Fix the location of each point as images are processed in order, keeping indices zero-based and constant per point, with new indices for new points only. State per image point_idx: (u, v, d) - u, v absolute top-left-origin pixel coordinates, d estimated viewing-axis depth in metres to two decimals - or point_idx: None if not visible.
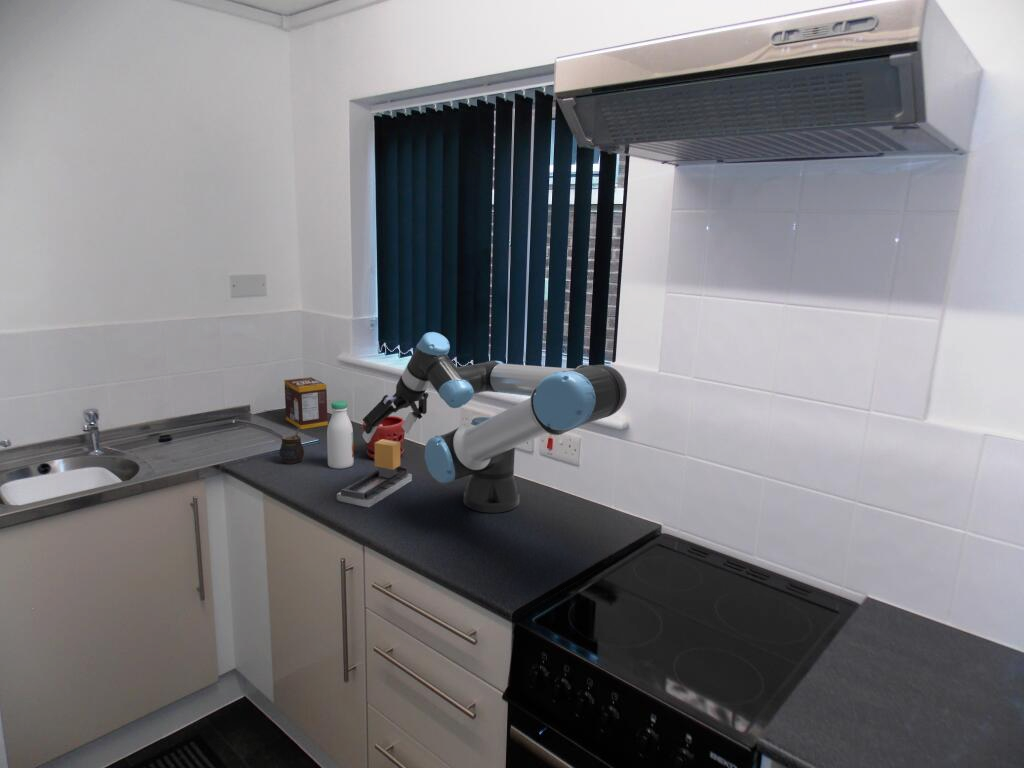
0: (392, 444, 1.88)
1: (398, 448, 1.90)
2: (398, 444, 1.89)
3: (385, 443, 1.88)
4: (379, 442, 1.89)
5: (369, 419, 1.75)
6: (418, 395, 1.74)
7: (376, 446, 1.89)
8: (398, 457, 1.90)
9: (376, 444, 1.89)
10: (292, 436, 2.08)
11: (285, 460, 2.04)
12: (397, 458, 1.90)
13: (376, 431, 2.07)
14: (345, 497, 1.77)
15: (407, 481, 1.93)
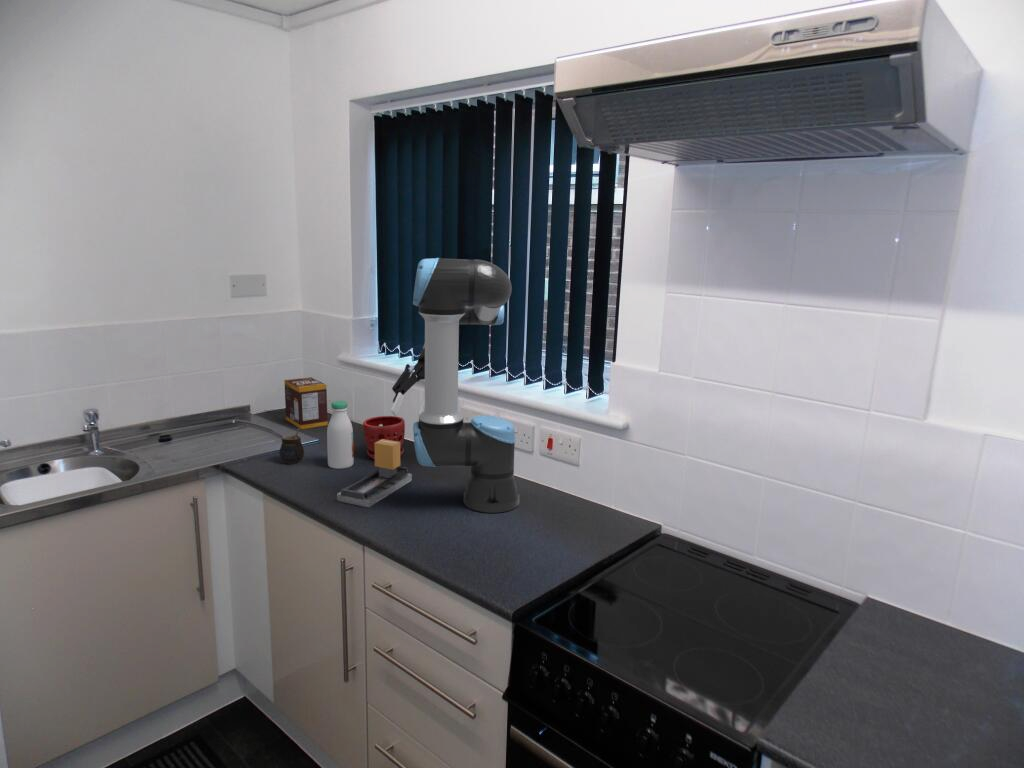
0: (392, 444, 1.88)
1: (398, 448, 1.90)
2: (398, 444, 1.89)
3: (385, 443, 1.88)
4: (379, 442, 1.89)
5: None
6: None
7: (376, 446, 1.89)
8: (398, 457, 1.90)
9: (376, 444, 1.89)
10: (292, 436, 2.08)
11: (285, 460, 2.04)
12: (397, 458, 1.90)
13: (376, 431, 2.07)
14: (345, 497, 1.77)
15: (407, 481, 1.93)
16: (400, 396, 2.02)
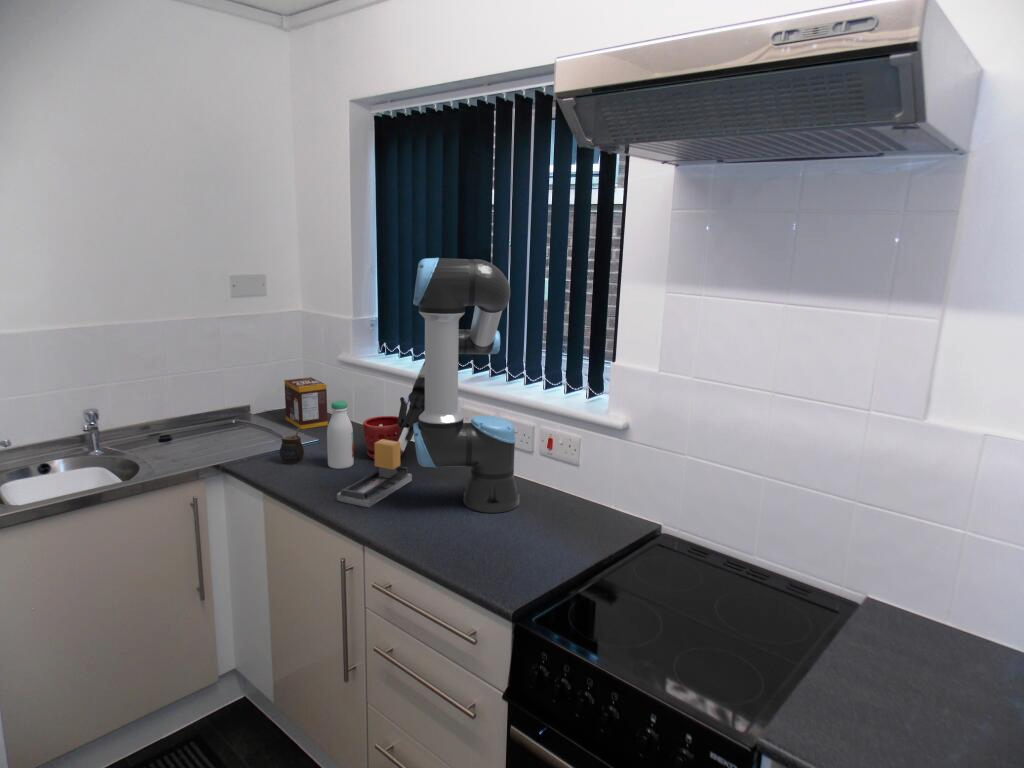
0: (392, 444, 1.88)
1: (398, 448, 1.90)
2: (398, 444, 1.89)
3: (385, 443, 1.88)
4: (379, 442, 1.89)
5: None
6: (420, 378, 2.05)
7: (376, 446, 1.89)
8: (398, 457, 1.90)
9: (376, 444, 1.89)
10: (292, 436, 2.08)
11: (285, 460, 2.04)
12: (397, 458, 1.90)
13: (376, 431, 2.07)
14: (345, 497, 1.77)
15: (407, 481, 1.93)
16: None
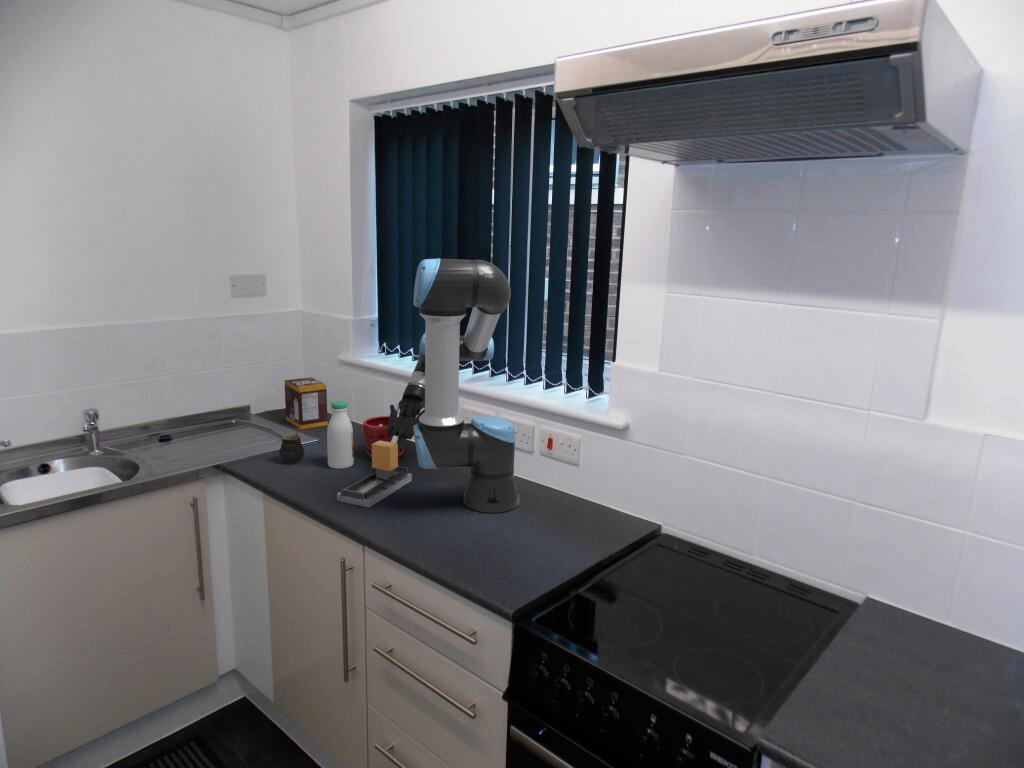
0: (389, 445, 1.87)
1: (395, 449, 1.88)
2: (395, 445, 1.88)
3: (382, 444, 1.87)
4: (376, 443, 1.88)
5: None
6: (411, 385, 2.01)
7: (373, 447, 1.87)
8: (395, 458, 1.89)
9: (373, 445, 1.87)
10: (292, 436, 2.08)
11: (285, 460, 2.04)
12: (394, 459, 1.88)
13: (376, 431, 2.07)
14: (345, 497, 1.77)
15: (407, 481, 1.93)
16: None
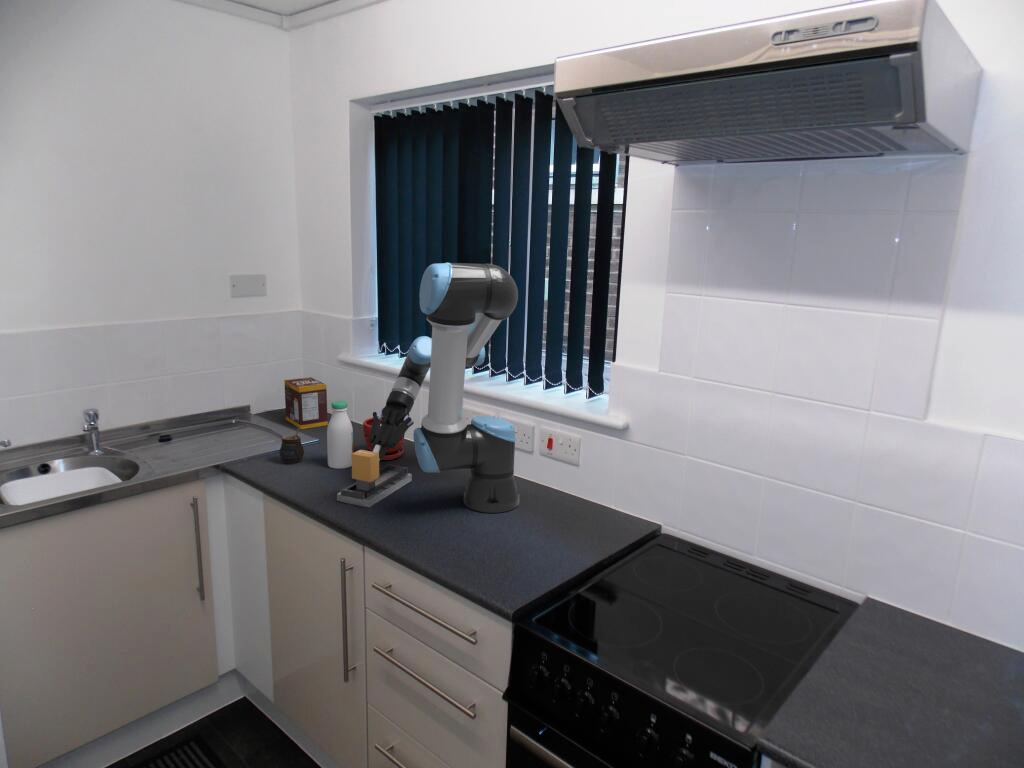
0: (370, 455, 1.78)
1: (376, 459, 1.80)
2: (376, 455, 1.80)
3: (363, 454, 1.79)
4: (356, 453, 1.79)
5: None
6: (394, 392, 1.92)
7: (353, 457, 1.79)
8: (377, 469, 1.80)
9: (353, 455, 1.79)
10: (292, 436, 2.08)
11: (285, 460, 2.04)
12: (375, 470, 1.80)
13: None
14: (345, 497, 1.77)
15: (407, 481, 1.93)
16: None
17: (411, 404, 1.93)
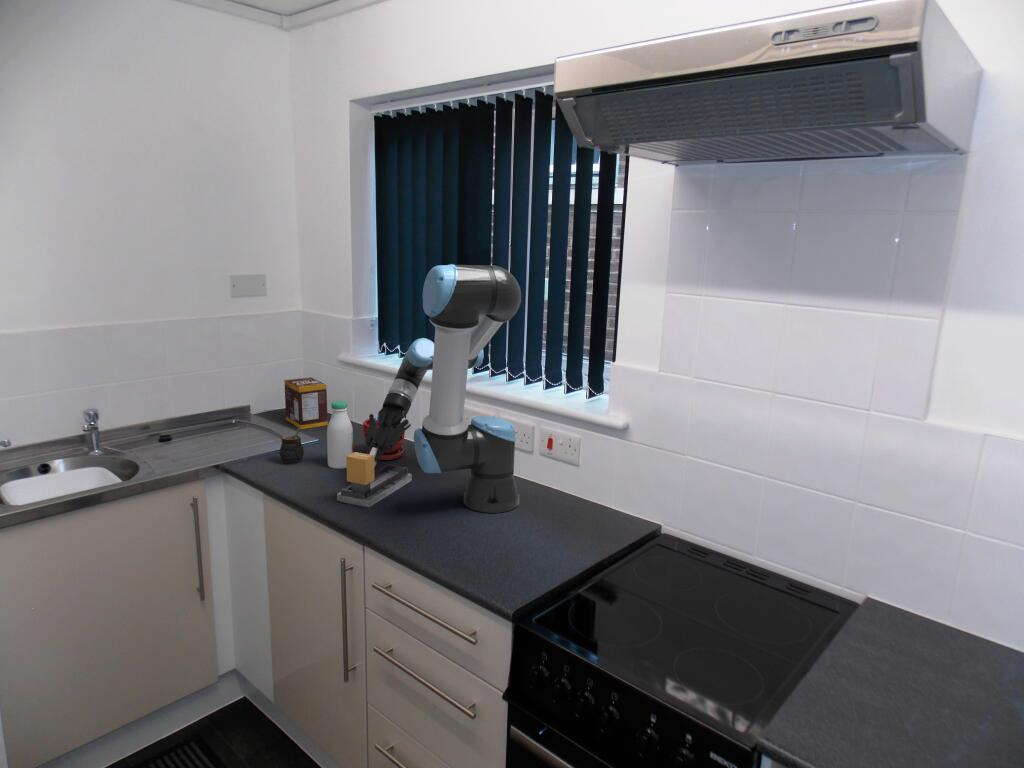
0: (365, 458, 1.76)
1: (372, 462, 1.78)
2: (372, 458, 1.77)
3: (358, 457, 1.77)
4: (351, 455, 1.77)
5: None
6: (391, 394, 1.90)
7: (348, 460, 1.77)
8: (372, 471, 1.78)
9: (348, 458, 1.77)
10: (292, 436, 2.08)
11: (285, 460, 2.04)
12: (371, 472, 1.78)
13: None
14: (345, 497, 1.77)
15: (407, 481, 1.93)
16: None
17: (408, 406, 1.91)
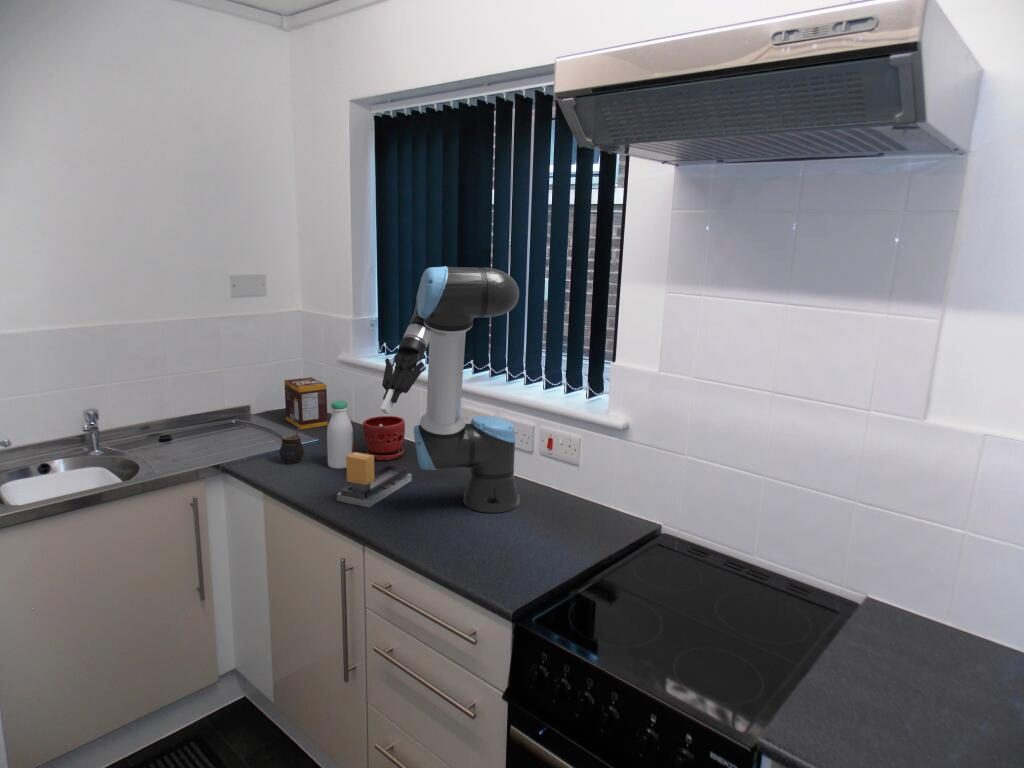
0: (365, 458, 1.76)
1: (372, 462, 1.78)
2: (372, 458, 1.77)
3: (358, 457, 1.77)
4: (351, 455, 1.77)
5: None
6: (406, 338, 1.94)
7: (348, 460, 1.77)
8: (372, 471, 1.78)
9: (348, 458, 1.77)
10: (292, 436, 2.08)
11: (285, 460, 2.04)
12: (371, 472, 1.78)
13: (376, 431, 2.07)
14: (345, 497, 1.77)
15: (407, 481, 1.93)
16: None
17: (423, 350, 1.95)
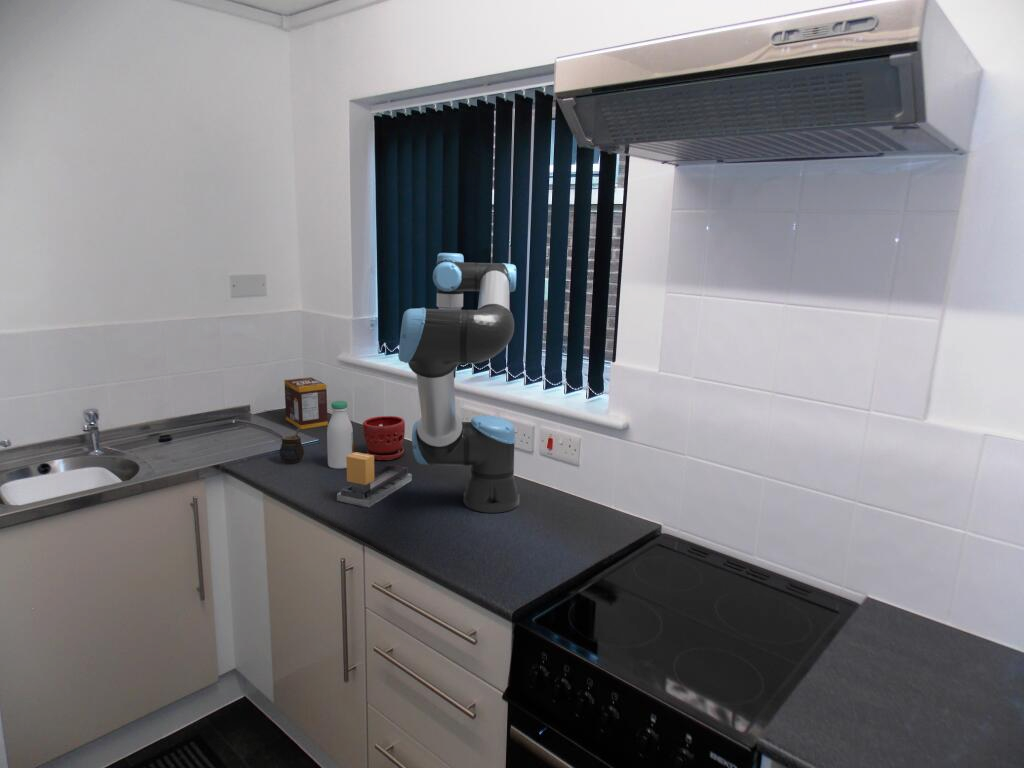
0: (365, 458, 1.76)
1: (372, 462, 1.78)
2: (372, 458, 1.77)
3: (358, 457, 1.77)
4: (351, 455, 1.77)
5: None
6: None
7: (348, 460, 1.77)
8: (372, 471, 1.78)
9: (348, 458, 1.77)
10: (292, 436, 2.08)
11: (285, 460, 2.04)
12: (371, 472, 1.78)
13: (376, 431, 2.07)
14: (345, 497, 1.77)
15: (407, 481, 1.93)
16: None
17: None
